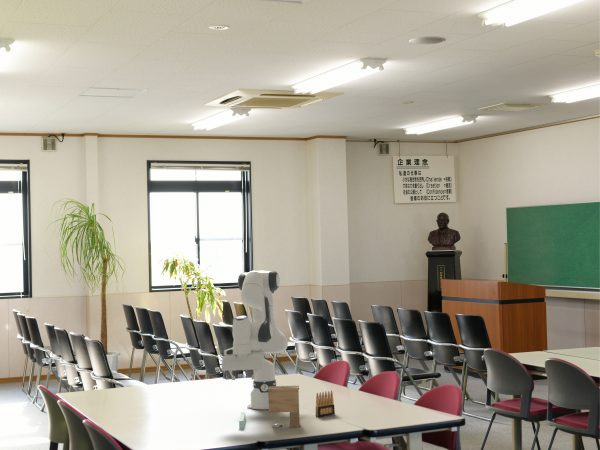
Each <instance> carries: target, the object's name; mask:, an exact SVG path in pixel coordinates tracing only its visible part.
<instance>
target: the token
mask: <svg viewBox="0 0 600 450" xmlns="http://www.w3.org/2000/svg"><path fill="white" fill-rule="evenodd" d="M282 427H283V423H281V422H280V423H278V422H276V423H272V424H271V428H282Z"/></svg>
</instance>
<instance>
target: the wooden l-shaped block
mask: <svg viewBox="0 0 600 450" xmlns="http://www.w3.org/2000/svg"><path fill="white" fill-rule="evenodd" d="M299 390H300V385H279V386H278V385H276V386H270V387H268V398H269V409H268V414H271V413H272V414H273V413H289V428H300V427H301V423H300V422H301V420H300V398H299V397H300V395H299V394H300V392H299Z"/></svg>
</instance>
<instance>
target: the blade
mask: <svg viewBox="0 0 600 450" xmlns="http://www.w3.org/2000/svg"><path fill="white" fill-rule="evenodd" d="M244 424H246V412H245V411H243V412H240V415H239V419H238V425H239V427H238V428H239V429H238V430H245V425H244Z"/></svg>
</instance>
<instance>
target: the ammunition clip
mask: <svg viewBox="0 0 600 450" xmlns="http://www.w3.org/2000/svg"><path fill="white" fill-rule="evenodd" d="M335 413H336V411H335V404H334V392H333V390H328V391H327V390H326V391H325V392H324V391H322V392H321V391H320V392H317V393H316V401H315V418H318V419H320V418H324V416H325V417H330V416H336V414H335Z"/></svg>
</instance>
